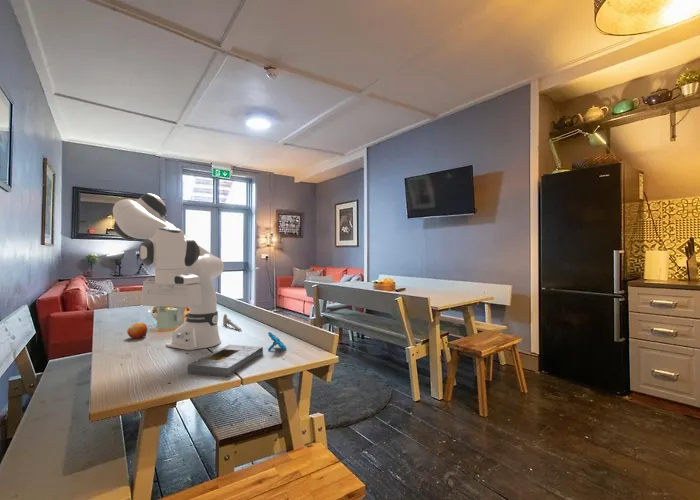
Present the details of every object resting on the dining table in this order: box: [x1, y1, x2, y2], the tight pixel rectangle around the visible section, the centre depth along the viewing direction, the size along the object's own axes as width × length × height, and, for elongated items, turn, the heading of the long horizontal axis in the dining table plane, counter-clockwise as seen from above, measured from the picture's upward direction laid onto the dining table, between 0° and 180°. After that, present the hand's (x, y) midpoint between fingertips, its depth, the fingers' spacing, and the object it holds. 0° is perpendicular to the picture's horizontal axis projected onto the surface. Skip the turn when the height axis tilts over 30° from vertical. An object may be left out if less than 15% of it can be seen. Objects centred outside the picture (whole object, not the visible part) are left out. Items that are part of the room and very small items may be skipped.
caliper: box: [222, 313, 243, 332], centre depth 178 cm, size 20×1×6 cm, turn 44°
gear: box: [267, 331, 288, 352], centre depth 139 cm, size 11×6×10 cm
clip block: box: [156, 307, 185, 330], centre depth 108 cm, size 4×7×5 cm, turn 167°
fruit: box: [126, 322, 148, 340], centre depth 160 cm, size 8×8×8 cm
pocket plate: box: [187, 344, 264, 378], centre depth 123 cm, size 15×24×3 cm, turn 167°
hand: (171, 320), depth 108 cm, fingers closed on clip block, 4 cm apart
